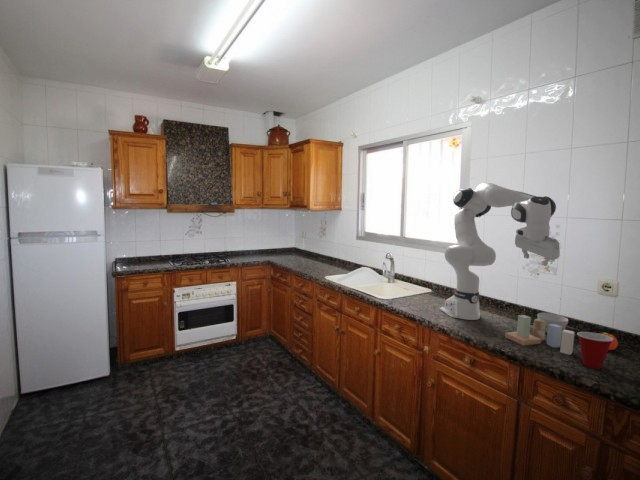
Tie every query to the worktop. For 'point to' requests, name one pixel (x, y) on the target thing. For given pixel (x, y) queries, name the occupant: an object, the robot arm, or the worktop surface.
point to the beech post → (539, 328)
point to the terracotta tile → (523, 339)
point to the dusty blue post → (554, 335)
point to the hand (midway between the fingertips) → (535, 261)
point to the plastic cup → (594, 348)
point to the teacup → (553, 320)
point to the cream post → (567, 342)
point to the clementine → (614, 342)
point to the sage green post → (523, 326)
